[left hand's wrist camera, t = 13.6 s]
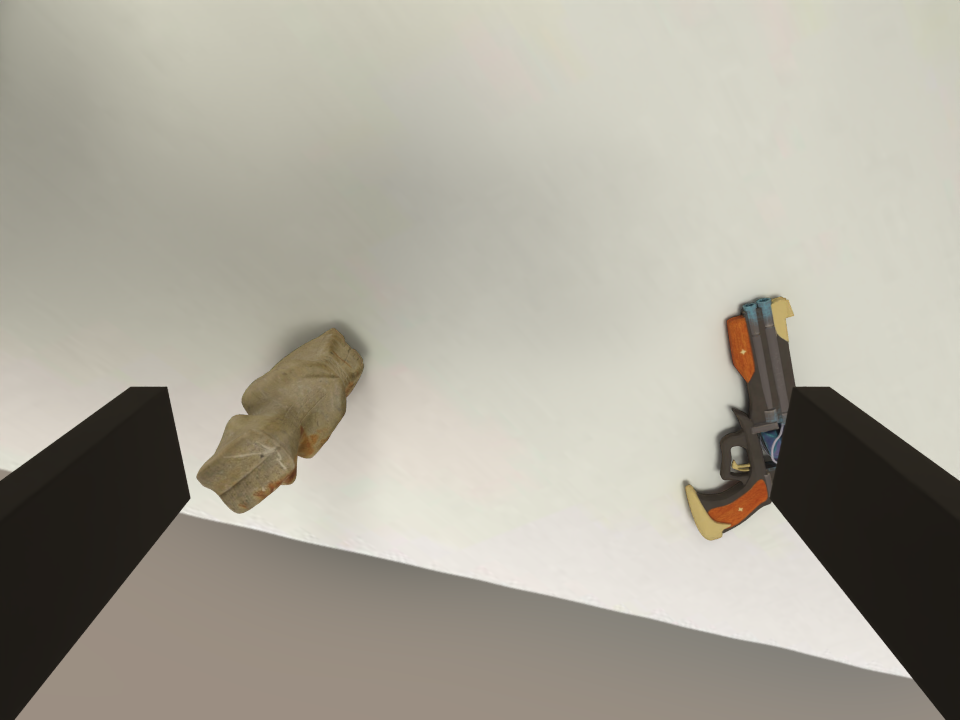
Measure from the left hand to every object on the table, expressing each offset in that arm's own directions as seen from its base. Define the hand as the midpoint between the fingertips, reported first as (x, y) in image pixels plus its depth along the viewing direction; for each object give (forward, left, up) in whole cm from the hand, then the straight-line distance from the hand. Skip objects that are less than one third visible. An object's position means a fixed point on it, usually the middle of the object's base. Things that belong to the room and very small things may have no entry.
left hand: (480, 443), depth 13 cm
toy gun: (+23, -9, -30) cm, 39 cm away
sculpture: (-9, -13, -30) cm, 34 cm away
